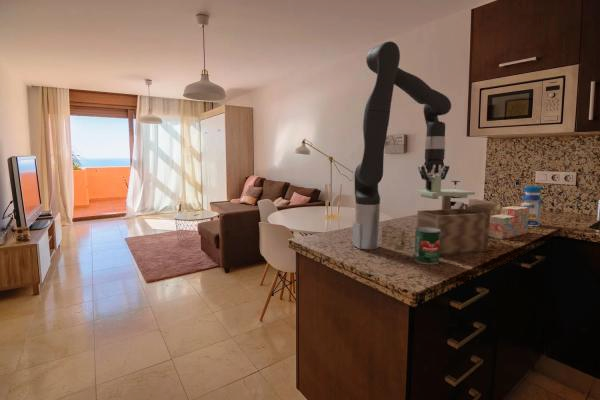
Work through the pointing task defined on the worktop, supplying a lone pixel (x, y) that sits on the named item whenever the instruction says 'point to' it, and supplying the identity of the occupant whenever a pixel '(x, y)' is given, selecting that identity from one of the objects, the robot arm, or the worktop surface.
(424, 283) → the worktop surface
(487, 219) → the post
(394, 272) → the worktop surface
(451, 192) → the lid
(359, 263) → the worktop surface
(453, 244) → the storage box
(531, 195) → the beverage bottle
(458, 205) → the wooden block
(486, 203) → the key bar
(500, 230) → the stack of blocks
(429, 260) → the canned tomato
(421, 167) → the robot arm
